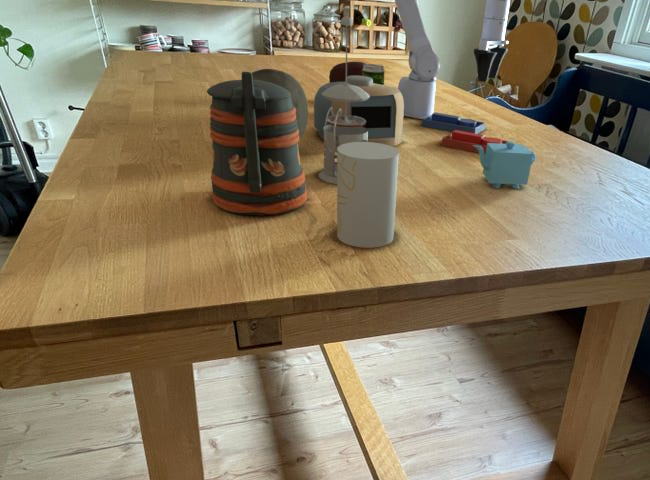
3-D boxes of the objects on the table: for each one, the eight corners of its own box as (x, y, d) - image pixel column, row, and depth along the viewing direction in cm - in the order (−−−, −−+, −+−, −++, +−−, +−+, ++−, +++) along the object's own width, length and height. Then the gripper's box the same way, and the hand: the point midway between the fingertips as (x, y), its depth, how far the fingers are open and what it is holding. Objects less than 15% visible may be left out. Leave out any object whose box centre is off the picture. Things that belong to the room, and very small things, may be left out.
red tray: (441, 145, 123) (442, 138, 122) (454, 138, 129) (454, 131, 128) (501, 157, 119) (502, 149, 118) (511, 149, 125) (512, 141, 124)
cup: (337, 224, 82) (337, 140, 75) (391, 225, 83) (396, 143, 76) (336, 246, 76) (337, 157, 69) (395, 248, 77) (401, 160, 70)
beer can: (386, 120, 140) (389, 67, 133) (369, 122, 137) (371, 68, 130) (373, 115, 143) (375, 63, 136) (356, 117, 140) (358, 64, 133)
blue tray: (421, 125, 137) (422, 119, 136) (433, 120, 143) (434, 113, 142) (474, 135, 133) (475, 128, 132) (484, 129, 139) (485, 122, 138)
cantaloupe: (223, 151, 108) (213, 66, 100) (281, 141, 117) (277, 62, 108) (266, 169, 101) (260, 79, 92) (325, 157, 110) (324, 73, 101)
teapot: (470, 187, 101) (476, 144, 96) (464, 176, 106) (470, 135, 101) (533, 190, 102) (542, 148, 97) (525, 179, 107) (533, 139, 102)
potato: (334, 97, 159) (333, 56, 153) (379, 101, 158) (380, 61, 152) (324, 104, 150) (323, 61, 144) (372, 109, 149) (373, 66, 143)
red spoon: (449, 142, 124) (450, 132, 123) (456, 138, 127) (457, 128, 126) (497, 152, 120) (499, 141, 119) (503, 147, 124) (505, 137, 122)
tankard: (318, 227, 81) (315, 76, 69) (213, 232, 77) (191, 73, 65) (300, 184, 95) (296, 54, 84) (212, 186, 92) (194, 50, 80)
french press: (379, 173, 104) (386, 17, 89) (355, 191, 95) (359, 21, 80) (332, 164, 106) (331, 11, 91) (304, 181, 97) (298, 15, 82)
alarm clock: (331, 151, 114) (331, 86, 107) (304, 127, 128) (302, 69, 121) (414, 147, 121) (419, 86, 114) (380, 124, 135) (382, 69, 128)
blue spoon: (429, 123, 138) (430, 114, 137) (436, 120, 141) (436, 111, 140) (472, 131, 134) (473, 121, 133) (478, 128, 138) (479, 118, 136)
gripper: (502, 21, 129) (493, 85, 137) (519, 19, 140) (509, 78, 148) (474, 18, 131) (466, 81, 139) (492, 16, 142) (484, 74, 150)
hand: (486, 79), depth 144 cm, fingers open, 7 cm apart
